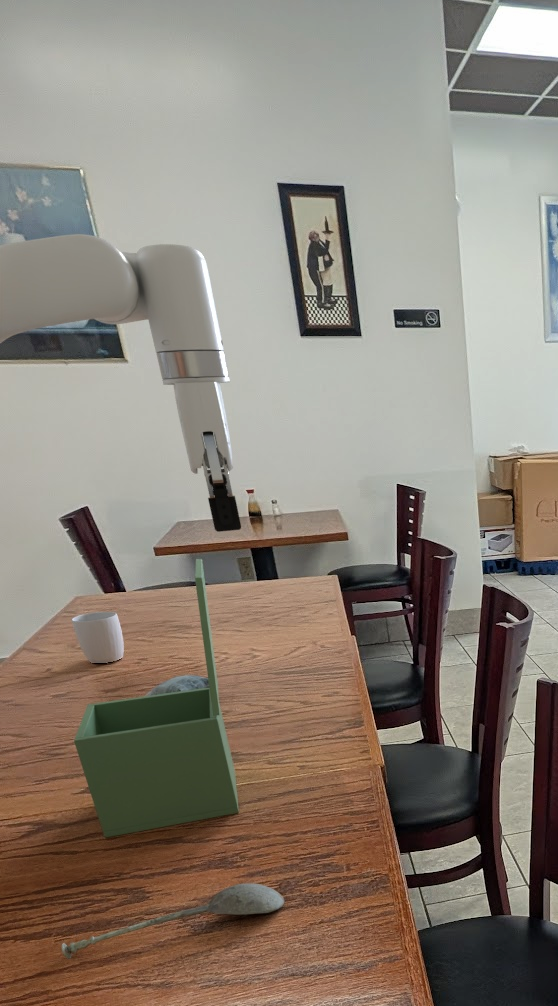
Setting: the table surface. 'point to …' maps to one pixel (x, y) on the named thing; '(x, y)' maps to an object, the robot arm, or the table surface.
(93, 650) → the mug
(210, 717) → the chest
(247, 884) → the soupspoon
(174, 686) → the grey blue stone
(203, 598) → the lid
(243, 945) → the table surface
